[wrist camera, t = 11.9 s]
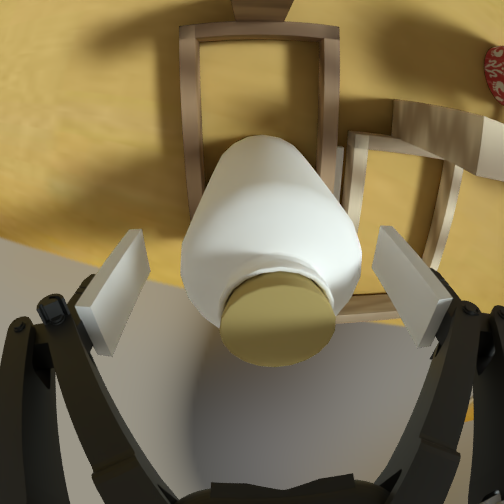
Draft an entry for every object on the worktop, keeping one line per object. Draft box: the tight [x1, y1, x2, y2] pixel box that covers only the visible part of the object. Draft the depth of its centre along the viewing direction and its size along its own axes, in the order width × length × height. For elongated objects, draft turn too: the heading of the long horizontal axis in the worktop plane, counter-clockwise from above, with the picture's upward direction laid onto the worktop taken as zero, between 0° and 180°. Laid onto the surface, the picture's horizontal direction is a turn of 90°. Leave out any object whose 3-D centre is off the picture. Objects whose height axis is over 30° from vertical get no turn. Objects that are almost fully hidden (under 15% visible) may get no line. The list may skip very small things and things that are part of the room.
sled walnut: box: [179, 0, 340, 221], centre depth 17 cm, size 22×12×12 cm, turn 1°
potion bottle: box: [181, 135, 362, 367], centre depth 18 cm, size 8×8×18 cm
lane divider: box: [333, 146, 344, 202], centre depth 27 cm, size 16×1×1 cm, turn 1°
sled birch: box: [335, 99, 504, 324], centre depth 21 cm, size 22×12×12 cm, turn 1°
